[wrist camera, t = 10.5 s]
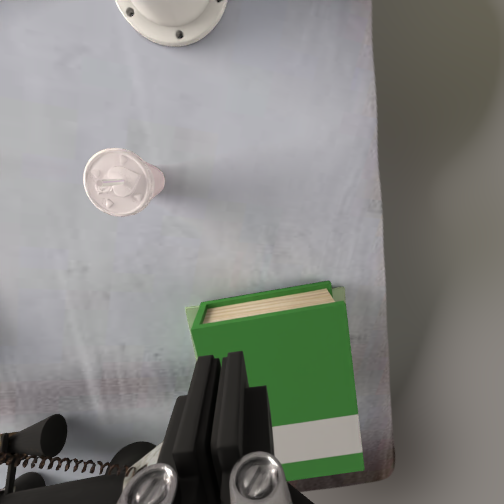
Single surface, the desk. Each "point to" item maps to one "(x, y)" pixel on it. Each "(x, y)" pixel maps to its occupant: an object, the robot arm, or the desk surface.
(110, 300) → the desk surface
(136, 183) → the smoothie
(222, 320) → the hardback book
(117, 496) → the telephone
